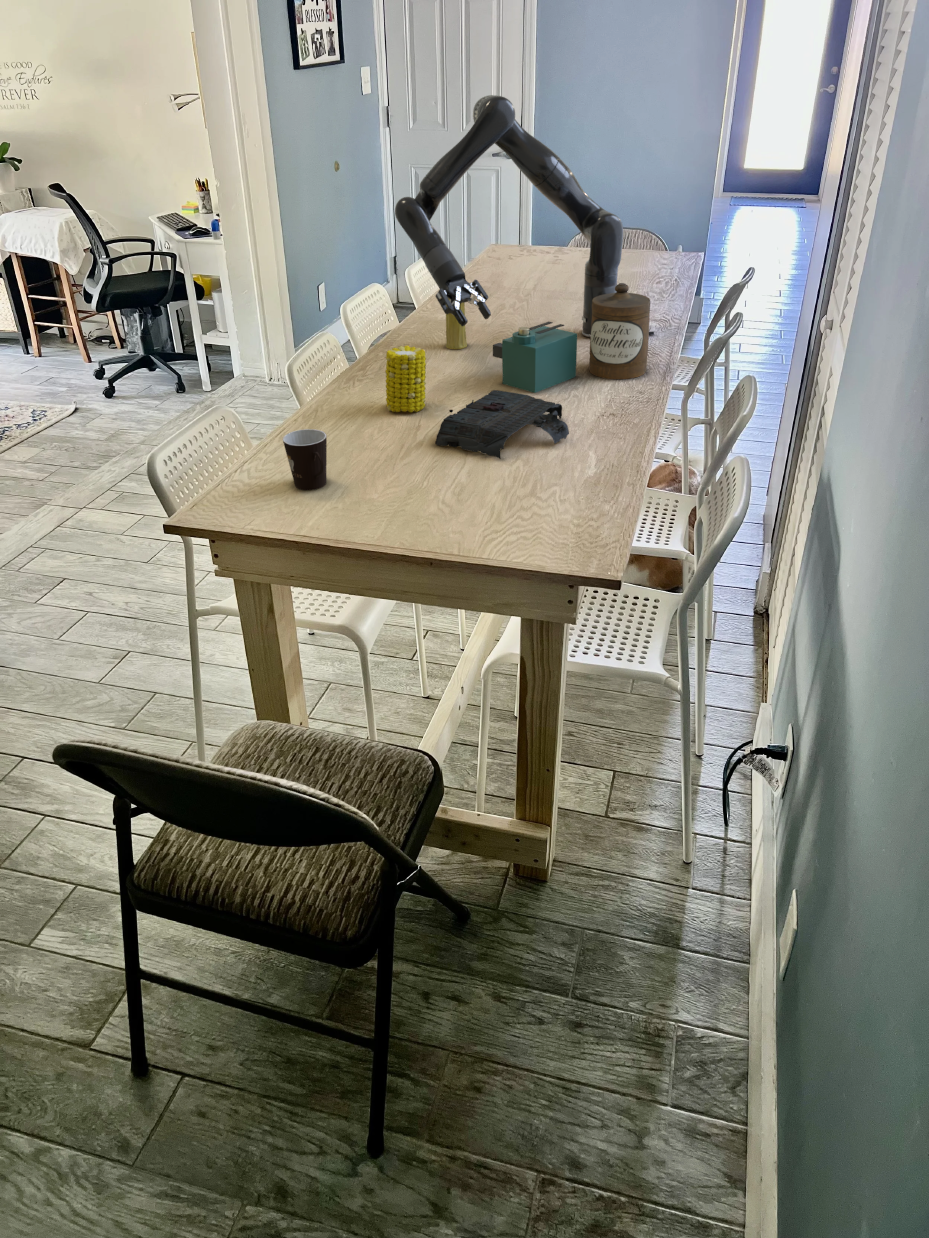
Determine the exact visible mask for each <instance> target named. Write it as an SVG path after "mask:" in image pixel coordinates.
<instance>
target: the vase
mask: <svg viewBox="0 0 929 1238" xmlns="http://www.w3.org/2000/svg"><path fill="white" fill-rule="evenodd" d="M448 299H449V298H448ZM449 301H450V299H449ZM465 305H466V304H465V303H461V304H459V310H460V309H461V311H462V312H463V314H464V315H465V316H466V308H465ZM446 306H447V305H446ZM467 347H468V341H467V331H466V325H465V326H461V325H460V324H459V323H458V321H457V319H456V318H455V316H454V315H452V314H451V313H449V314H445V348H447V349H449V350H462V349H466V348H467Z"/></svg>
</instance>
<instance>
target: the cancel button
mask: <svg viewBox="0 0 929 1238" xmlns="http://www.w3.org/2000/svg"><path fill="white" fill-rule="evenodd" d="M529 328H530V327H528V326H521V327H518V331H519V335H520V336H528V335H529Z"/></svg>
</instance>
